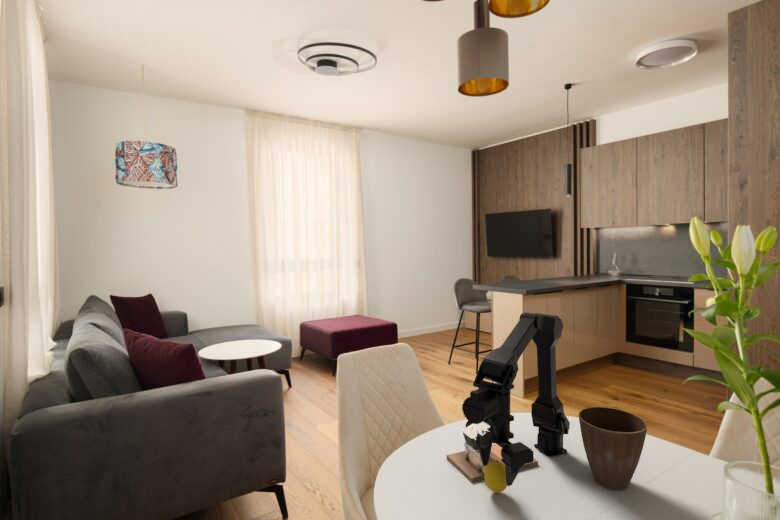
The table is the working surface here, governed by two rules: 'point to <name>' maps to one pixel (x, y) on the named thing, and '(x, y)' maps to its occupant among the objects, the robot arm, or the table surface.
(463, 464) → the walnut board
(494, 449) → the terracotta tile
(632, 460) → the plant pot
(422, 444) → the table surface
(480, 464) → the bent wire
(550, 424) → the robot arm
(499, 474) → the lemon
